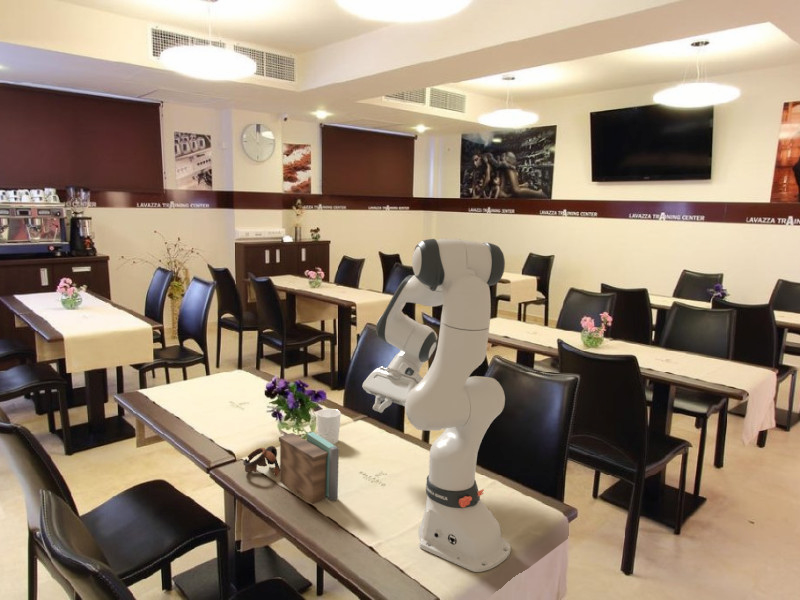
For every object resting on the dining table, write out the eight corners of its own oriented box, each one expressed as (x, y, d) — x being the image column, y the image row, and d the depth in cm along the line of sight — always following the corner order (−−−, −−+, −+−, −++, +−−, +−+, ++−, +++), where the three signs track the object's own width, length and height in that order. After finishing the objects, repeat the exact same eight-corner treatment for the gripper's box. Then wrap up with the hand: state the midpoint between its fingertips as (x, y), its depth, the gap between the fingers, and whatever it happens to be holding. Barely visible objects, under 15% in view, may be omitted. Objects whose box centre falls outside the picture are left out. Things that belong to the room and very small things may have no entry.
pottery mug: (275, 483, 157) (260, 461, 155) (249, 491, 160) (234, 470, 158) (291, 456, 168) (276, 435, 165) (266, 464, 171) (252, 443, 169)
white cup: (335, 447, 181) (336, 418, 179) (312, 444, 183) (313, 415, 181) (342, 437, 189) (343, 409, 187) (320, 435, 190) (321, 407, 189)
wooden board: (326, 498, 149) (327, 452, 147) (312, 504, 146) (313, 457, 144) (292, 476, 161) (292, 433, 159) (278, 480, 157) (278, 437, 155)
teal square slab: (339, 497, 149) (340, 448, 146) (331, 500, 147) (332, 451, 145) (312, 477, 159) (313, 431, 157) (305, 480, 158) (306, 433, 155)
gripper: (373, 359, 173) (348, 396, 167) (420, 373, 158) (395, 414, 153) (383, 371, 176) (359, 407, 171) (430, 385, 162) (406, 425, 157)
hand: (376, 410), depth 162 cm, fingers closed
